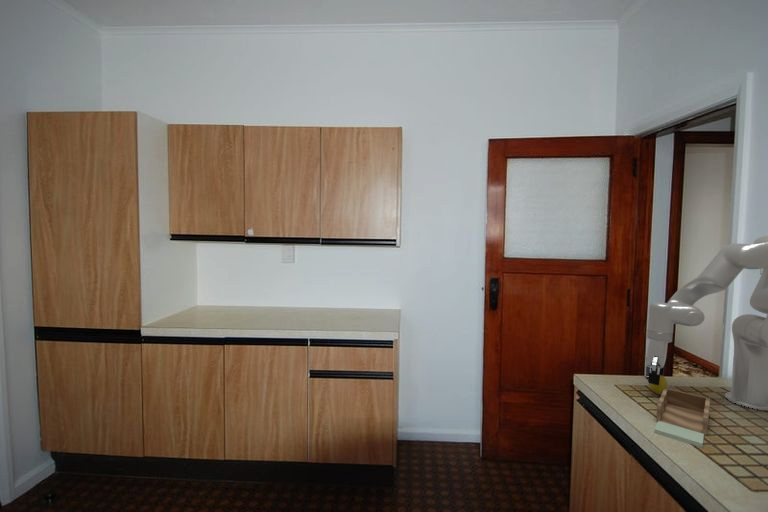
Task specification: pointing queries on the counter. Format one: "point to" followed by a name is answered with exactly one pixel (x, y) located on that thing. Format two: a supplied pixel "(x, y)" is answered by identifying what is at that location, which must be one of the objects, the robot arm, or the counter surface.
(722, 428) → the counter surface
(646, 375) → the supplement bottle
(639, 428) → the counter surface
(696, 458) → the counter surface
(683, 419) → the crate
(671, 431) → the panel
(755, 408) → the robot arm
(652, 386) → the lemon
